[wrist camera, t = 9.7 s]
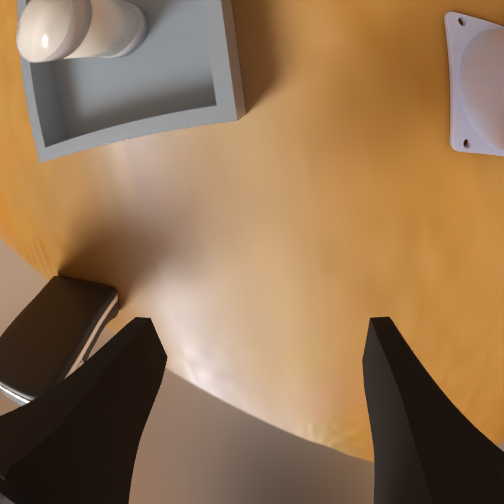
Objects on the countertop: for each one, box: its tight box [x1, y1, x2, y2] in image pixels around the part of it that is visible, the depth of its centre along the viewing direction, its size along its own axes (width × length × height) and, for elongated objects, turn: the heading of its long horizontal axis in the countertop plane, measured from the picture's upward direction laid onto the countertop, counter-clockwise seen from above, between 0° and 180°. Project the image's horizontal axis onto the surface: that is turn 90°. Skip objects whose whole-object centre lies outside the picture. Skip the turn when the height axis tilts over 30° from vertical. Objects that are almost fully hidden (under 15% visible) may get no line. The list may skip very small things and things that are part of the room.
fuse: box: [16, 0, 149, 63], centre depth 10 cm, size 3×3×6 cm
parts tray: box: [17, 0, 246, 163], centre depth 12 cm, size 12×12×3 cm
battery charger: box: [0, 276, 119, 406], centre depth 19 cm, size 7×4×11 cm, turn 87°
